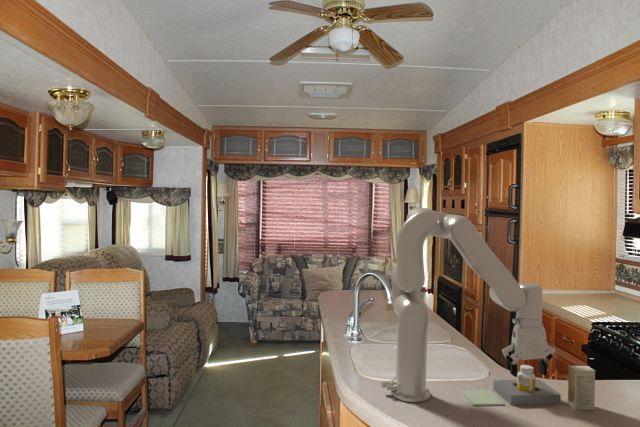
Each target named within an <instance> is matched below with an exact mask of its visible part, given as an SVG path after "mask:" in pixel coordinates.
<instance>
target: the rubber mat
mask: <svg viewBox="0 0 640 427" xmlns="http://www.w3.org/2000/svg"><path fill="white" fill-rule="evenodd" d="M460 393H461V395H463V396H464V398H465V399H466V400H467V401H468V402H469V403H470V404H471V405H472V406H473V407H478V406H479V407H481V406H482V407H483V406H484V407H485V406H505V404H506V403H505V402H503V400H501V399H500V398H499V397H498V396H497V395H496V394H495V393H494V392H493V391H492V390H490V389H486V390H484V389H483V390H481V389H480V390H460Z"/></svg>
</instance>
